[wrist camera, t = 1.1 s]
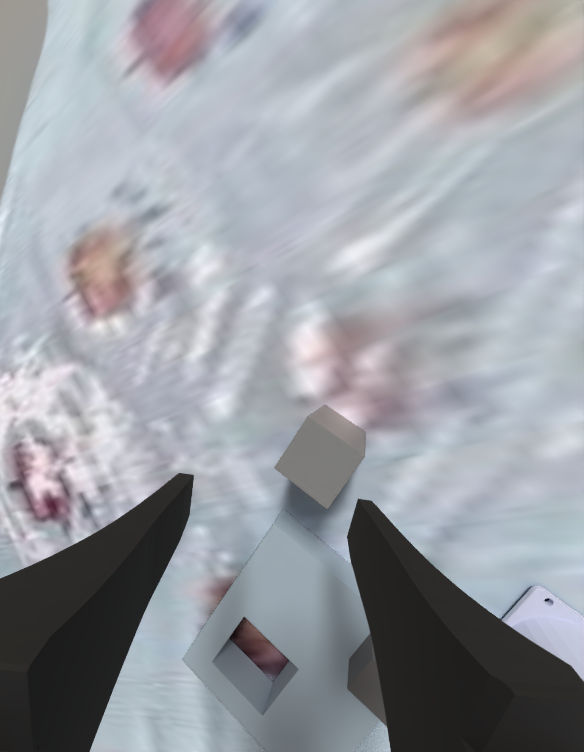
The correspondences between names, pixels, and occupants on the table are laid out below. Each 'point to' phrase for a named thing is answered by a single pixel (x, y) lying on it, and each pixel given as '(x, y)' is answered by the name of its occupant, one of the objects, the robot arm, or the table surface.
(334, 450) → the grey rectangular block
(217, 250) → the table surface
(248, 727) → the socket plate
